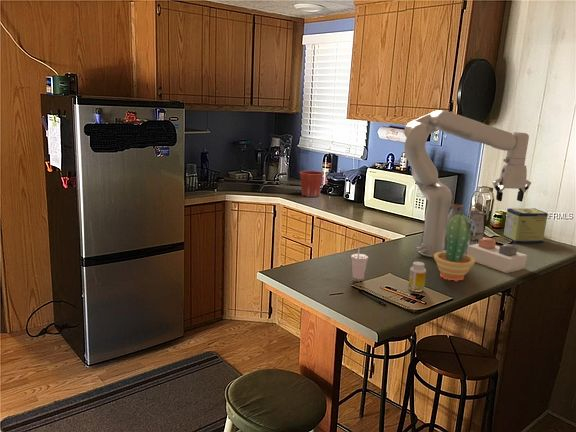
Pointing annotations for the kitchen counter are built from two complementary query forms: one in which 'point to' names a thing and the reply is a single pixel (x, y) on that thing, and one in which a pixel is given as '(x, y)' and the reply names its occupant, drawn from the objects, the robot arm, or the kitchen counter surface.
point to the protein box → (525, 225)
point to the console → (497, 258)
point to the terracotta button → (487, 243)
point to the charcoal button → (508, 249)
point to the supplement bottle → (417, 276)
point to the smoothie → (359, 264)
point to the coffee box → (477, 226)
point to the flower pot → (311, 183)
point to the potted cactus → (456, 249)
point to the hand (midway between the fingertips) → (509, 200)
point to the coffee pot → (455, 211)
